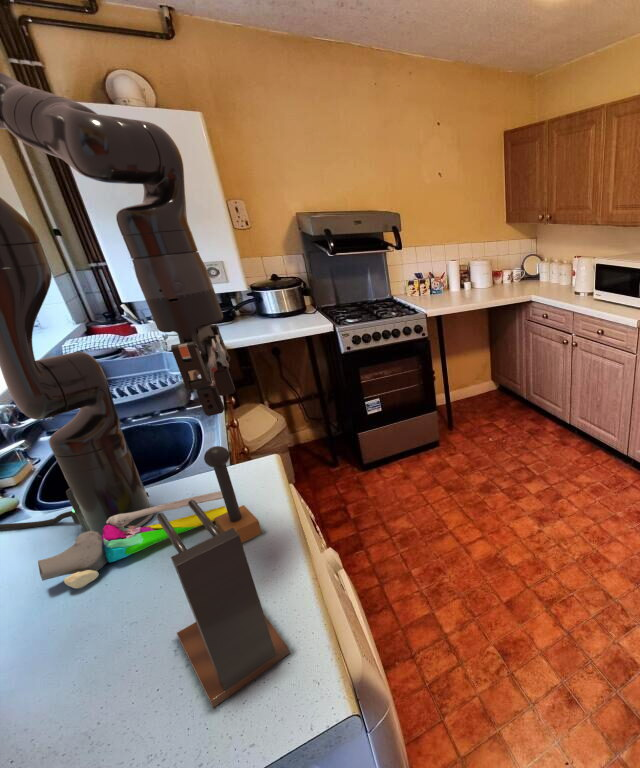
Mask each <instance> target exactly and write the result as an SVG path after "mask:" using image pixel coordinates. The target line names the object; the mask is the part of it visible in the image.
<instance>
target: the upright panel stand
mask: <svg viewBox="0 0 640 768" xmlns="http://www.w3.org/2000/svg"><path fill="white" fill-rule="evenodd" d="M188 505H189V508H190V509H191V510H192V511H193V514H196V515H197V517H198V518H199V519H200V521H201V522H202V523H203V525H202V526H204V527H205V529H206V530H207V531H208V533H209V534H210V535H211V537H210V538H208V539H206V540H204V541H202V542H199V543H197V544H195V545H192V546H191V547H189V548H187V547H186V545H185V544H184V542H183V541H182V539H181V538H180V536H179V534H177V533H176V531H175V530H174V528H173V527H172V525H171V524H170V522H169V521H170V520H169V519H168V518H167V516H166V515H165V513H163V512H157V513H156V515H155V517H156V519H157V521H158V522H159V523H160V524H161V526H162V527H163V529H164V530H165V532H166V534H167V535H168V537H169V538H168V539H169V540H170V542H171V543H172V545H173V547H174V548H175V550H176V551H177V553H176V554H174V555H172V556H171V557H170V559H171V561H172V564H173V566H174V569H175V571H176V573H177V576H178V577H177V578H178V579H179V582H180V585H181V587H182V590H183V592H184V595H185V597H186V600H187V603H188V605H189V608H190V610H191V612H192V616H193V618H194V620H195V622H193V623H191V624H190V625H188V626H187V627H185V628H183V629H180V630H179V631H178V632H176V635H177V638H178V640H179V642H180V644H181V646H182V648H183V650H184V652H185V654H186V656H187V658H188V660H189V662H190V664H191V666H192V668H193V670H194V673H195V674H196V676H197V678H198V680H199V682H200V684H201V686H202V689H203V690H204V692H205V694H206V696H207V699H208V701H209V702H210V704H211V707H212V708H215V707H217V706H218V705H219V704H221V703H222V702H224V701H225V700H227V699H229V698H230V697H231V696H232V695H234V694H235V693H237V692H238V691H239V690H240V689H241V690H242V688H244V687H245V686H246V685H248V684H249V683H250V682H252V681H254V680H255V679H256V678H258V677H259V676H260V675H262V674H263V673H264V672H266V671H267V670H268V669H270V668H271V667H273V666H274V665H276V664H277V663H278V662H280V661H281V660H283V659H284V658H286V657H287V656H288V655H289V654H291V652H290V648H289V646H288V644H287V643H286V642H285V640H284V639H283V638H282V637H281V635H280V634H279V632H278V631H277V630H276V628H275V627H274V626H273V624H272V623H271V622H270V620H269V619H268V618H267V616H266V615H265V614H264V609H263V607H262V603H261V601H260V600H261V599H260V598H259V594H258V591H257V588H256V584H255V581H254V578H253V575H252V571H251V568H250V566H249V561H248V559H247V555H246V552H245V550H244V546H243V543H242V542H241V539H240V536H239V534H238V533H237V532H236V531H235V530H234V528H231V529H229V530H227V531H225V532H223V533H220V532H219V530H218V528H217V526H216V524H214V523H213V522H211V520H210V519H209V518H208V517H207V515H206V514H205V513H204V512H205V511H204V510H203V509H202V508H201V507H200V505H199V503H198V504H197V503H196V502H195V501H194V500H190V501H189V502H188ZM168 520H169V521H168Z"/></svg>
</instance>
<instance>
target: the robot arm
mask: <svg viewBox="0 0 640 768" xmlns="http://www.w3.org/2000/svg"><path fill="white" fill-rule="evenodd" d="M0 129H1V130H7V131H8V132H9V133H11V135H13V136H14V137H15V138H16V139H18V140H19V141H20V142H22V143H23V144H25V145H27V146H29V147H31V148H33V149H35V150H37V151H39V152H42V153H45V154H47V155H50V156H51V157H55V158H58V159H60V160H62V161H63V162H65V164H67V165H68V166H70V167H71V168H72V169H73V170H75V171H76V172H77V173H78V174H80V175H81V176H83V177H84V178H88V179H89V180H94V181H97V182H101V183H106V184H118V185H119V184H120V185H121V184H122V185H142V187H143V199H142V203H138V204H134V205H129V206H126V207H122V208H121V209H119V210H118V211H117V213H116V215H115V218H116V224H117V226H118V229H119V232H120V234H121V237H122V238H123V241H124V244H125V246H126V248H127V251H128V253H129V256H130V259H131V261H132V264H133V267H134V268H133V269H134V272H135V276H136V279H137V283H138V285H139V288H140V290H141V292H142V295H143V297H144V300H145V302H146V304H147V306H148V309H149V311H150V314H151V317H152V319H153V321H154V323H155V326H156V329H157V330H158V331H159V332H161V333H172V332H174V333H176V334H177V335H178V341H179V343H177V344H171V345H170V350H171V352H172V355H173V358H174V360H175V363H176V366H177V368H178V371H179V373H180V377H181V379H182V381H183V384H184V387H185V389H186V390H187V392H190V391H193V392H196V394H197V398H198V400H199V402H200V404H201V407H202V410H203V412H204V414H205V415H206V416H208V417H212V416H215V415H216V416H217V415H219V414H222V413H224V411H225V404H224V402H223V400H222V397H224V396H229V395H233V394H235V393H236V390H237V389H236V386H235V383H234V380H233V378H232V375H231V372H230V370H229V369H230V363H229V362H231V356H230V354H229V352H228V350H227V347H226V344H225V342H224V339H223V337H222V334H221V331H220V327H219V326H218V323H221V322H222V321H224V320H223V319H224V314H223V311H222V308H221V305H220V303H219V300H218V297H217V295H216V291H215V288H214V285H213V282H212V280H211V277H210V274H209V272H208V268H207V267H206V264H205V263H204V261H203V259H202V257H201V255H200V252H199V250H198V247H197V244H196V241H195V238H194V235H193V233H192V230H191V227H190V225H189V222H188V216H187V200H186V187H185V170H184V169H185V168H184V162H183V158H182V154H181V152H180V149H179V148H178V146H177V144H176V142H175V141H174V139H173V138H172V137H171V135H170V134H169V133H168V132H167V131H166V130H164V129H163V128H162V127H161V126H159V125H157V124H156V123H153V122H149V121H146V120H139V119H134V118H133V119H132V118H126V117H119V116H111V115H106V114H101V113H100V114H99V113H97V112H96V111H94V110H92V109H91V108H89V107H87V106H86V105H84V104H81V103H80V102H77V101H75V100H72V99H69V98H66V97H64V96H61V95H57V94H54V93H52V92H49V91H46V90H42V89H39V88H36V87H33V86H30V85H27V84H24V83H22V82H21V81H18V80H16V79H15V78H13V77H11V76H9V75H7V74H6V73H4V72H3V71H1V70H0ZM52 278H53V273H52V269H51V265H50V263H49V260H48V258H47V254H46V253H45V250H44V247H43V244H42V242H41V239H40V237H39V234H38V231H37V230H36V229H35V227H34V226H33V225H32V224H31V223H30V221H28V219H27V218H25V216H24V215H22V214H21V213H20V212H19V211H18V210H16V209H15V208H14V207H13V205H11V204H9V203H8V202H7V201H6V200H5V199H3V198H2V197H1V196H0V371H1V373H2V376H3V380H4V382H5V384H6V387H7V390H8V393H9V394H10V396H11V398H12V400H13V403H14V404H15V405H16V407H17V409H19V410H20V412H21V413H23V414H24V415H25V416H26V417H27V418H29V419H32V420H38V421H39V420H44V419H49V418H52V417H56V416H59V415H63V414H66V413H70V412H73V411H75V410H78V412H77V414H76V415H75V416H73V418H72V419H71V420H70V421H69V422H67V423H66V424H64V426H62V427H60V428H59V429H58V430H56V431H55V432H54V433H52V434H51V436H50V437H49V439H48V444H49V447H50V449H51V451H52V453H53V456H54V457H55V459H56V461H57V465H58V466H59V469H60V470H61V472H62V474H63V476H64V479H65V480H66V483H67V485H68V487H69V488H68V489H67V490H65V495H66V497H67V499H68V501H69V503H70V505H71V507H72V510H69V511H66V512H62V513H60V514H58V515H57V516H55V517H53V518H50V519H45V520H39V521H30V522H29V521H28V522H12V523H0V530H13V529H15V530H16V529H29V528H39V527H40V528H41V527H45V526H50V525H56V524H58V523H59V522H61V521H62V520H65V519H67V518H72V520H73V522H74V525H80V527H81V528H82V531H83V533H84V532H87V531H95V532H99V534H101V535H102V536H103V531H104V530H103V529H104V527H105V526H106V525H111V524H107V523H106V522H107V520H109V519H108V518H110V517H112V516H115V515H118V514H125V513H131V512H136V511H140V510H143V509H147V508H151V507H153V506H152V505H151V502H150V495H149V492H147V491H146V489H145V486H144V483H143V481H142V478H141V476H140V473H139V470H138V468H137V466H136V463H135V460H134V457H133V455H132V453H131V450H130V447H129V446H128V445H129V444H128V442H127V439H126V437H125V435H124V432H123V429H122V427H121V420H120V417H119V414H118V411H117V409H116V405H115V402H114V399H113V396H112V392H111V389H110V385H109V383H108V379H107V377H106V374H105V373H104V370H103V368H102V367H101V365H100V363H99V361H97V360H96V359H95V358H94V357H93V356H92V355H91V354H89V353H87V352H84V351H74V352H68V353H64V354H60V355H55V356H51V357H46V358H42V359H37V360H36V358H35V354H34V347H33V333H34V328H35V325H36V321H37V318H38V315H39V314H40V311H41V308H42V306H43V304H44V302H45V300H46V297H47V295H48V293H49V290H50V288H51V283H52ZM199 375H200V377H201V378H198V376H199ZM154 514H155V513H152V514H149V515H145V516H142V517H139V518H137V519H134V520H132V521H131V522H129V523H128V524H127V525H125V526H123V527H124V528H128V527H127V526H135V528H138V527H143V526H145V524H147V523H148V522H149V521H150V520H152V518H153V517H154ZM120 527H121V526H120Z"/></svg>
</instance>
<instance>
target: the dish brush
mask: <svg viewBox="0 0 640 768" xmlns="http://www.w3.org/2000/svg"><path fill="white" fill-rule="evenodd" d="M229 460H230V451H229V450H228V449H227V448H226V447H224V446H221V445H215V446H212V447H209V449H207V450H206V451H205V453H204V456H203V461H204V463H205V464H206V465H207V466H209V467H210V468H213V470H214V473H215V476H216V480H217V483H218V486H219V489H220V491H221V493H222V496H223V502H224V506H225V508H226V509H227V513H225V514H222V515H220V516H218V517H216V518H214V519H215V521H214V522H215V526H216V528H217V529H218V530H219V532H220V533H223V532H225V531H227V530H229V529H231V528H234V530H235V531H236V532H237V533H238V534H239V536H240V539H241V542H242V544H244V543H246V542H248V541H250V540H251V539H254V538H255V537H258V536H259V535H262V534H263V531H262V528H261V525H260V520H259V519H258V518H257V517H256V516H255V515H254V514H253V513H252V511H251V510H249V509H248V508H247V506H246V505H244V504H243V505H240V506H239V503H238V500H237V496H236V492H235V490H234V487H233V484H232V480H231V476H230V473H229V470H228V467H227V464H228V462H229Z"/></svg>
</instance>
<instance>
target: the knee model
mask: <svg viewBox="0 0 640 768" xmlns="http://www.w3.org/2000/svg"><path fill="white" fill-rule="evenodd" d="M222 499H223V496H222V493H221V490H219V491H214V492H209V493H206V494H201V495H195V496H191V497H188V498H183V499H179V500H176V501H175V500H174V501H172V502H171V501H170V502H167V503H163V504H162V503H161V504H159V505H155V506H152V507H151V508H147V509H143V510H140V511H136V512H131V513H125V514H118V515H115V516H112V517H110V518H108V519H109V520H107V522H106V523H107V524H111V525H106V526H105V527H104V529H103V530H104V531H103V536H102V535H101V534H99V532H95V531H87V532H84V531H83V532H81V533H79V535H78V536H77V537H76V538H75V540H74V543H73V544H72V545H71V546H70V547H68V548H67V549H65V550H64V551H61V553H59V554H55V555H53V556H50V557H47V558H44V559H39V560H37V563H38V564H37V565H38V570H39V575H40V578H41V581H42V582H43V581H48V580H52V579H55V578H58V577H62V576H67V577H65V578H64V579H63V582H64V584H65V585H67V586H68V587H70V588H73V589H76V590H77V589H83V588H84V587H86V586H87V585H88V584H90V583H91V582H93V581H95V580H96V579H97V578H98V577H99V575H100V574H99V572H98V571H99V570H100V569H102V568H103V567H104V566H105V565H106V564H107V563H114V562H117V561H119V560H122V559H124V558H127V557H129V556H131V555H133V554H135V553H137V552H140V551H144V550H145V549H147V548H149V547H151V546H152V545H153V546H154V545H155V544H158V543H160V542H162V541H164V540H168V539H170V538H169V537H168V535H167V534H166V532H165V530H164V529H163V527H162V526H161V524H160V522H159V523H154V524H150V525H143V526H141V527H138V528H135V526H127V527H128V528H124V527H123V526H125V525H127V524H128V523H129V522H131V521H132V520H134V519H137V518H139V517H142V516H145V515H149V514H152V513H154V514H155V513H156V514H157V513H162V512H165V511H173V510H176V509H181V508H182V509H183V508H184V507H188V506H189V505H188V502H189V501H190V500H194V501H195V502H196V503H197V504H198V505H199V504H202V503H203V504H204V503H207V502H212V501H218V500H222ZM223 500H224V499H223ZM189 507H190V506H189ZM203 512H204V513H205V514H206V515H207V517H208V518H209V519H210V520H211V522H212V523H213V522H215V519H214V518H216V517H218V516H220V515H222V514H225V513H227V509H226V505H223V506H219V507H215V508H213V509H209V510H206V511H203ZM168 521H169V522H170V524H171V525H172V527H173V528H174V530H175V531H176V533H177V535H180V534H182V533H186V532H188V531H191V530H194V529H196V528H198V527H201V526H204V525H203V523H202V522H201V521H200V519H199V518H198V517H197V515H196V514H195V513H193V514H191V515H187V516H183V517H179V518H176V519H173V520H169V519H168ZM120 526H121V527H120Z"/></svg>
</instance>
